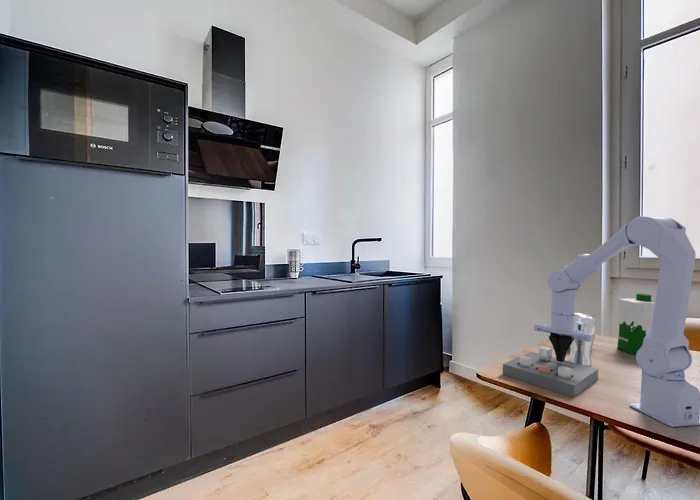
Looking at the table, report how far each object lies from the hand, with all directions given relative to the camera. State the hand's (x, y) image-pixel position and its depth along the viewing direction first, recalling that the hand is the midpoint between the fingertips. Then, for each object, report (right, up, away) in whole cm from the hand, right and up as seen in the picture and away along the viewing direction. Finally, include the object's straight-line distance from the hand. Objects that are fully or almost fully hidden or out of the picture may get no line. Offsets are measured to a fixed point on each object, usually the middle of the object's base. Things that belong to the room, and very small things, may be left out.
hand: (560, 360), depth 102 cm
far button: (-10, -2, -1) cm, 11 cm away
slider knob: (-3, 0, +3) cm, 4 cm away
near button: (-4, -3, -8) cm, 10 cm away
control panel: (-4, -4, -2) cm, 6 cm away
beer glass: (+12, -4, +10) cm, 16 cm away
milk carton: (+39, -4, +23) cm, 46 cm away
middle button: (-7, -4, -5) cm, 9 cm away
